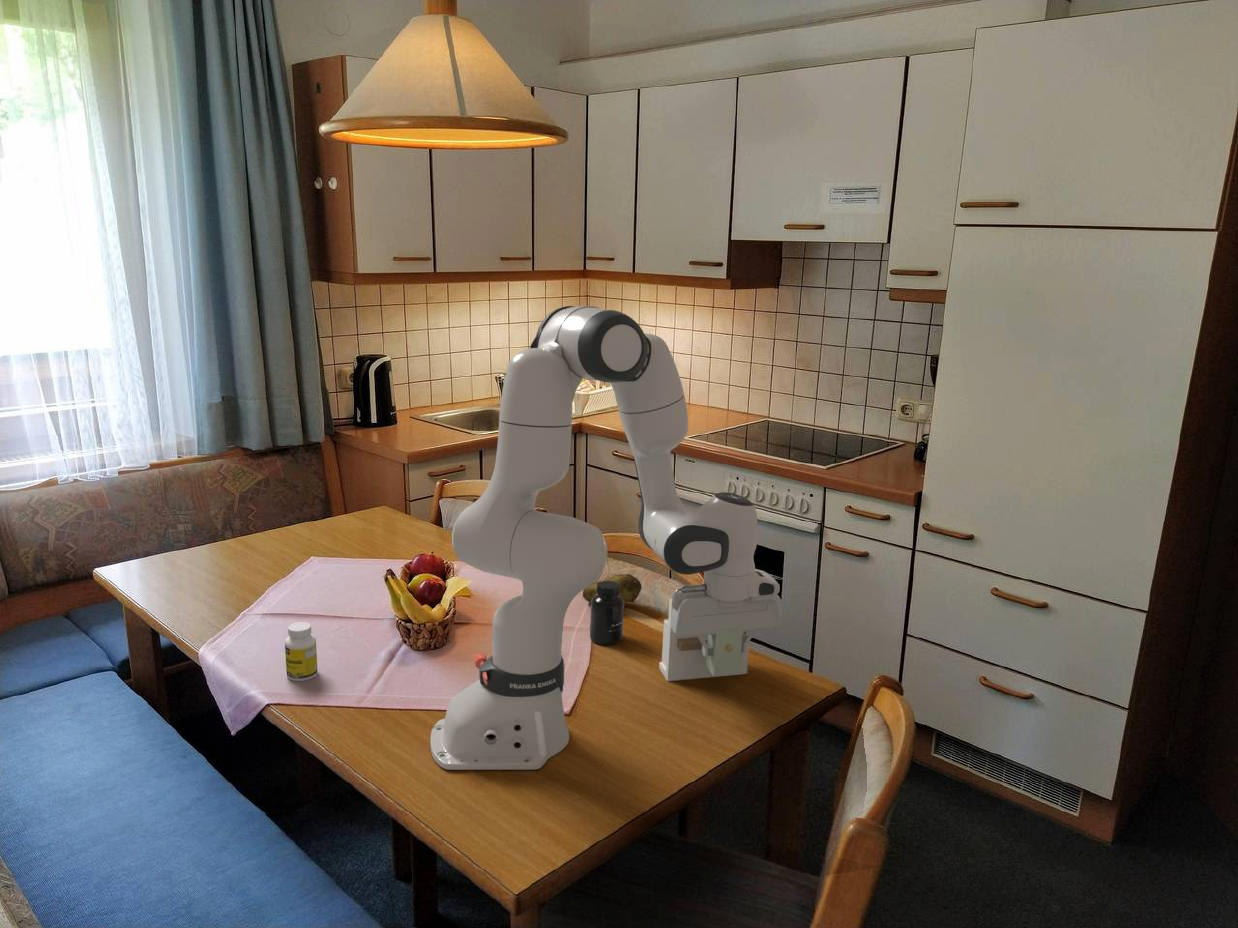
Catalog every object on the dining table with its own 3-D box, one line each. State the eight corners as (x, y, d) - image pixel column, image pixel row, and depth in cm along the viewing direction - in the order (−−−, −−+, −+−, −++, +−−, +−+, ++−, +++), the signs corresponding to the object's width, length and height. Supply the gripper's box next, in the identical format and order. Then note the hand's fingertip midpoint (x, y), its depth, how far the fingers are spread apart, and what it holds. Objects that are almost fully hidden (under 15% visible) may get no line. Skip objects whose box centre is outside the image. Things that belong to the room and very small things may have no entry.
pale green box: (715, 678, 160) (718, 632, 158) (702, 660, 166) (705, 616, 164) (741, 675, 161) (744, 630, 159) (727, 658, 168) (730, 614, 165)
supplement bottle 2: (619, 648, 181) (621, 592, 178) (586, 643, 182) (587, 588, 179) (625, 633, 187) (627, 580, 185) (593, 630, 189) (595, 576, 186)
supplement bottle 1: (280, 677, 164) (277, 627, 162) (303, 665, 169) (300, 617, 166) (301, 684, 162) (298, 635, 159) (324, 673, 166) (321, 624, 164)
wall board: (670, 686, 166) (675, 606, 162) (658, 667, 173) (663, 590, 169) (750, 678, 170) (757, 600, 166) (736, 660, 177) (741, 585, 173)
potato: (600, 593, 208) (601, 560, 206) (646, 607, 201) (647, 574, 199) (578, 604, 202) (579, 570, 200) (624, 619, 195) (625, 585, 193)
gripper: (678, 594, 153) (675, 667, 157) (788, 584, 158) (782, 655, 162) (667, 579, 159) (663, 650, 163) (773, 571, 164) (767, 640, 168)
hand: (723, 653), depth 162 cm, fingers closed on pale green box, 5 cm apart
